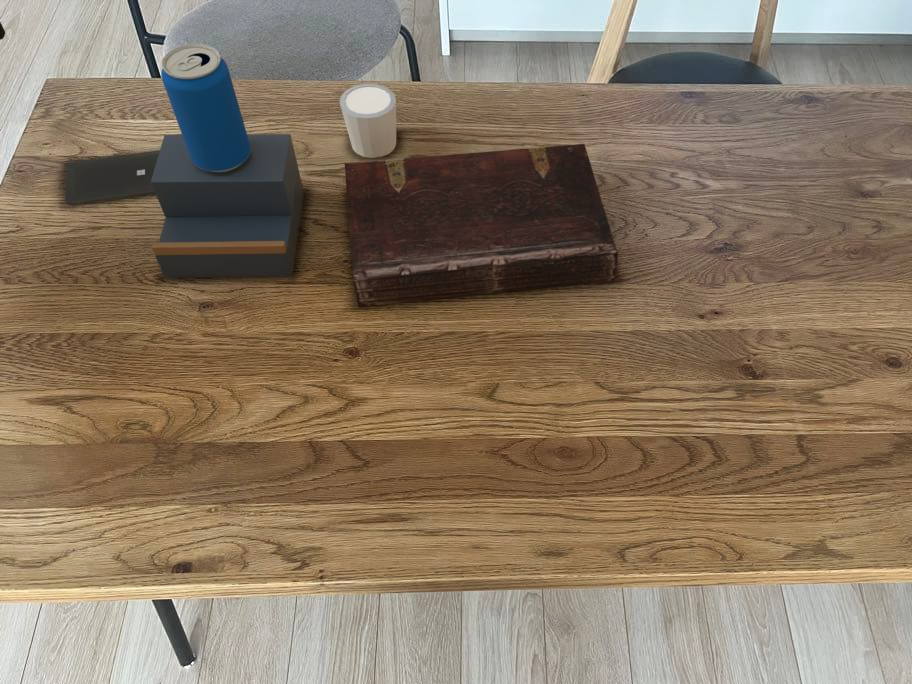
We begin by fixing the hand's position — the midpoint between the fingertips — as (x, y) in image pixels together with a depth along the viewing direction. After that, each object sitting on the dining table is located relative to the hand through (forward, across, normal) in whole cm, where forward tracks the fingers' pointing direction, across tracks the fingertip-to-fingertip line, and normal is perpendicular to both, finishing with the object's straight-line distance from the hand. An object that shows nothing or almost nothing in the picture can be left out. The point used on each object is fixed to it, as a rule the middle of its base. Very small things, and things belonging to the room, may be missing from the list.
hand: (2, 3), depth 72 cm
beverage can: (+23, -9, +11) cm, 27 cm away
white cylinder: (+32, -22, +26) cm, 46 cm away
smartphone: (+32, -16, -3) cm, 36 cm away
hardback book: (+32, -4, +39) cm, 50 cm away
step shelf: (+32, -6, +11) cm, 34 cm away
